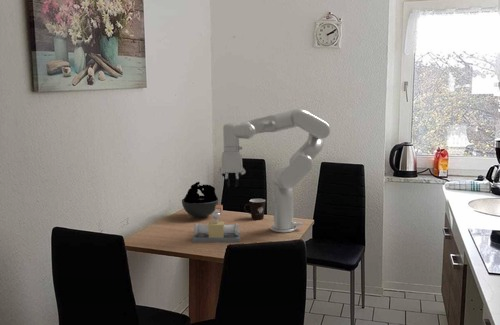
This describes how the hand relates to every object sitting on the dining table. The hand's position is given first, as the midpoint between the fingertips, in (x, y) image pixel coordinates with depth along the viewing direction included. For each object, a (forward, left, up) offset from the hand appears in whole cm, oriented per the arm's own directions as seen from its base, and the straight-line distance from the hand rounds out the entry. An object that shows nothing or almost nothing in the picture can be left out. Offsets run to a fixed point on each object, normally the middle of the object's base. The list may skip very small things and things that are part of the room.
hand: (232, 186), depth 261 cm
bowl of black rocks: (+20, -30, -23) cm, 43 cm away
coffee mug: (-10, -27, -23) cm, 37 cm away
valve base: (+7, +11, -23) cm, 27 cm away
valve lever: (+7, +4, -13) cm, 15 cm away
